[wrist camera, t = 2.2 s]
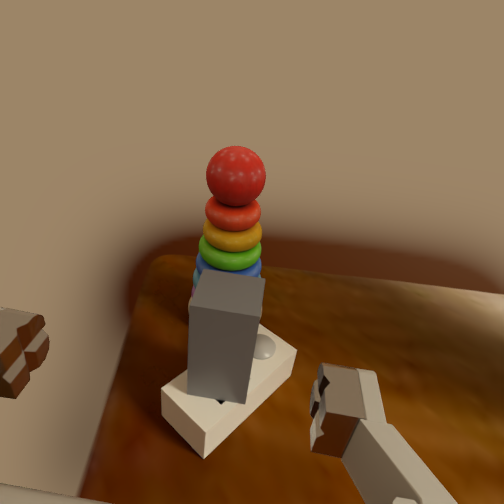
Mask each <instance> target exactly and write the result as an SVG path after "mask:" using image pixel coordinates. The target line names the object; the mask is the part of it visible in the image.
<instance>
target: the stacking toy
mask: <svg viewBox="0 0 504 504" xmlns="http://www.w3.org/2000/svg"><path fill="white" fill-rule="evenodd" d="M206 179H207V185H208V187H209V189H210V191H211V193H212V194H213V197H211V198H210V199H209V200H208V202H207V204H206V207H205V213H206V216H207V220H206V221H205V223H204V225H203V234H204V235H203V236H202V237H201V239H200V242H199V254H198V255H197V258H196V269H195V271H194V274H193V284H194V285H193V288H192V296H191V298H190V300H189V304H188V312H189V305H190V303H191V300H192V297H193V295H194V292H195V289H196V287H197V284H198V282H199V279H200V276H201V274H202V271H203V269H208V270H214V271H221V272H227V273H233V274H239V275H246V276H252V277H258V278H261V276H260V272H261V260H260V254H261V244H260V240H261V237H262V228H261V225H260V223H259V222H258V220H259V218H260V215H261V209H260V206H259V204H258V202H257V201H256V200H255V199H256V198H257V197H258V196H259V195H260V193H261V192H262V190H263V188H264V185H265V179H266V172H265V168H264V165H263V162H262V161H261V159H260V158H259V157H258V155H257V154H256V153H254V152H253V151H251V150H250V149H248V148H245V147H241V146H230V147H226V148H224V149H222V150H220V151H218V152H217V153H216V154H215V155H214V156H213V157H212V158H211V160H210V162H209V164H208V167H207V171H206ZM262 301H263V300H262ZM261 315H262V308H261ZM261 315H260V318H261Z"/></svg>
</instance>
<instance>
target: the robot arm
mask: <svg viewBox="0 0 504 504" xmlns="http://www.w3.org/2000/svg"><path fill="white" fill-rule="evenodd" d="M44 326H45V321H44V317H43V316H42V315H38V314H34V313H29V312H24V311H19V310H14V309H9V308H3V307H0V397H4V398H11V399H16V398H17V397H18V395H19V394H20V392H21V391H22V390H23V389H24V387H25V386H26V385H27V383H28V382H29V381H30V372H31V371H33V370H35V369H37V368H38V367H40V366H41V364H42V363H43V361H44V360H45V358H46V355H47V353H48V350H49V337H48V335H47V334H46V333H45V332H44V331H43V330H42V328H43V327H44ZM310 415H311V417H312V418H313V423H312V426H311V428H310V436H311V452H314V453H319V454H324V455H329V456H333V457H338V458H342V459H341V460H342V462H343V464H344V466H345V468H346V469H347V471H348V473H349V475H350V476H351V478H352V480H353V482H354V484H355V485H356V487H357V489H358V491H359V493H360V494H361V496H362V498H363V500H364V502H365V503H366V504H458V503H457V502H456V501H455V500H454V499H453V497H452V496H451V495H450V494H449V493H448V491H447V490H446V489H445V488H444V487H443V485H442V484H441V483H440V482H439V481H438V479H437V478H436V477H435V476H434V475H433V473H432V472H431V471H430V470H429V468H428V467H427V466H426V465H425V464H424V462H423V461H422V460H421V459H420V458H419V456H418V455H417V454H416V453H415V452H414V450H413V449H412V448H411V447H410V446H409V444H408V443H407V442H406V441H405V440H404V438H403V437H402V436H401V435H400V434H399V432H398V431H397V430H396V429H395V427H394V426H393V425H392V424H387V423H386V418H385V413H384V409H383V404H382V399H381V394H380V390H379V385H378V380H377V375H376V373H375V372H374V371H370V370H364V369H358V368H356V369H355V368H352V367H346V366H340V365H334V364H327V363H321V364H320V365H319V368H318V379H317V380H316V381H314V384H313V387H312V392H311V398H310ZM0 504H111V503H106V502H101V501H95V500H90V499H84V498H79V497H73V496H68V495H62V494H57V493H51V492H46V491H41V490H36V489H30V488H25V487H19V486H13V485H8V484H3V483H0Z"/></svg>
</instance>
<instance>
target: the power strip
mask: <svg viewBox="0 0 504 504" xmlns="http://www.w3.org/2000/svg"><path fill="white" fill-rule="evenodd" d="M296 352H297V350H296V349H295V348H293V347H292V346H291V345H289V344H288V343H286V342H285V341H283V340H282V339H281V338H279V337H278V336H276V335H275V334H274V333H272V332H271V331H269V330H268V329H266V328H265V327H264V326H262V325H261V324H259V327H258V333H257V339H256V345H255V350H254V356H253V362H252V368H251V374H250V380H249V386H248V392H247V397H246V403H245V404H239V403H234V402H228V401H225V402H224V403H223V404H222V405H221V404H220V403H219V402H217V401H216V400H215V399H210V398H204V397H198V396H193V395H187V370H188V369H187V370H186V371H184V372H183V373H182V374H180V375H179V376H177V377H176V378H175V379H173V380H172V381H170V382H169V383H168V384H166V385H165V386H164V387H162V388H161V406H162V416H163V417H164V418H165V419H166V420H167V422H168V423H169V424H170V425H171V426H172V427H173V428H174V429H175V430H176V431H177V432H178V433H179V434H180V435H181V436H182V437H183V438H184V439H185V440H186V441H187V442H188V443H189V445H190V446H191V447H192V448H193V449H194V450H195V451H196V452H197V453H198V454H199V455H200V456H201V457H202V458H203V459H204V458H205V457H206V456H207V455H209V454H210V453H211V452H212V451H213V450H214V449H215V448H216V447H217V446H218V445H219V444H220V443H221V442H222V441H223V440H224V439H225V438H226V437H227V436H228V435H229V434H230V433H231V432H232V431H233V430H235V429H236V428H237V427H238V426H239V425H240V424H241V423H242V422H243V421H244V420H245V419H246V418H247V417H248V416H249V415H250V414H251V413H252V412H253V411H254V410H255V409H256V408H257V407H258V406H259V405H260V404H262V403H263V402H264V401H265V400H266V399H267V398H268V397H269V396H270V395H271V394H272V393H273V392H274V391H275V390H276V389H277V388H278V387H279V386H280V385H281V384H282V383H283V382H284V381H285V380H286V379H288V378H289V377H290V376H291V372H292V368H293V364H294V360H295V356H296Z"/></svg>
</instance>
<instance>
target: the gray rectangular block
mask: <svg viewBox="0 0 504 504" xmlns="http://www.w3.org/2000/svg"><path fill="white" fill-rule="evenodd" d="M264 286H265V279H264V278H258V277H252V276H246V275H239V274H233V273H227V272H221V271H214V270H208V269H203V271H202V274H201V276H200V279H199V282H198V284H197V287H196V289H195V292H194V295H193V297H192V300H191V303H190V305H189V337H188V370H187V395H193V396H198V397H204V398H210V399H215V400H216V401H217V402H219V403H220V404H221V405H222V404H223V403H224V402H225V401H228V402H234V403H239V404H245V403H246V397H247V392H248V386H249V380H250V374H251V368H252V362H253V356H254V350H255V345H256V339H257V333H258V327H259V321H260V315H261V308H262V300H263V293H264Z"/></svg>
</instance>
